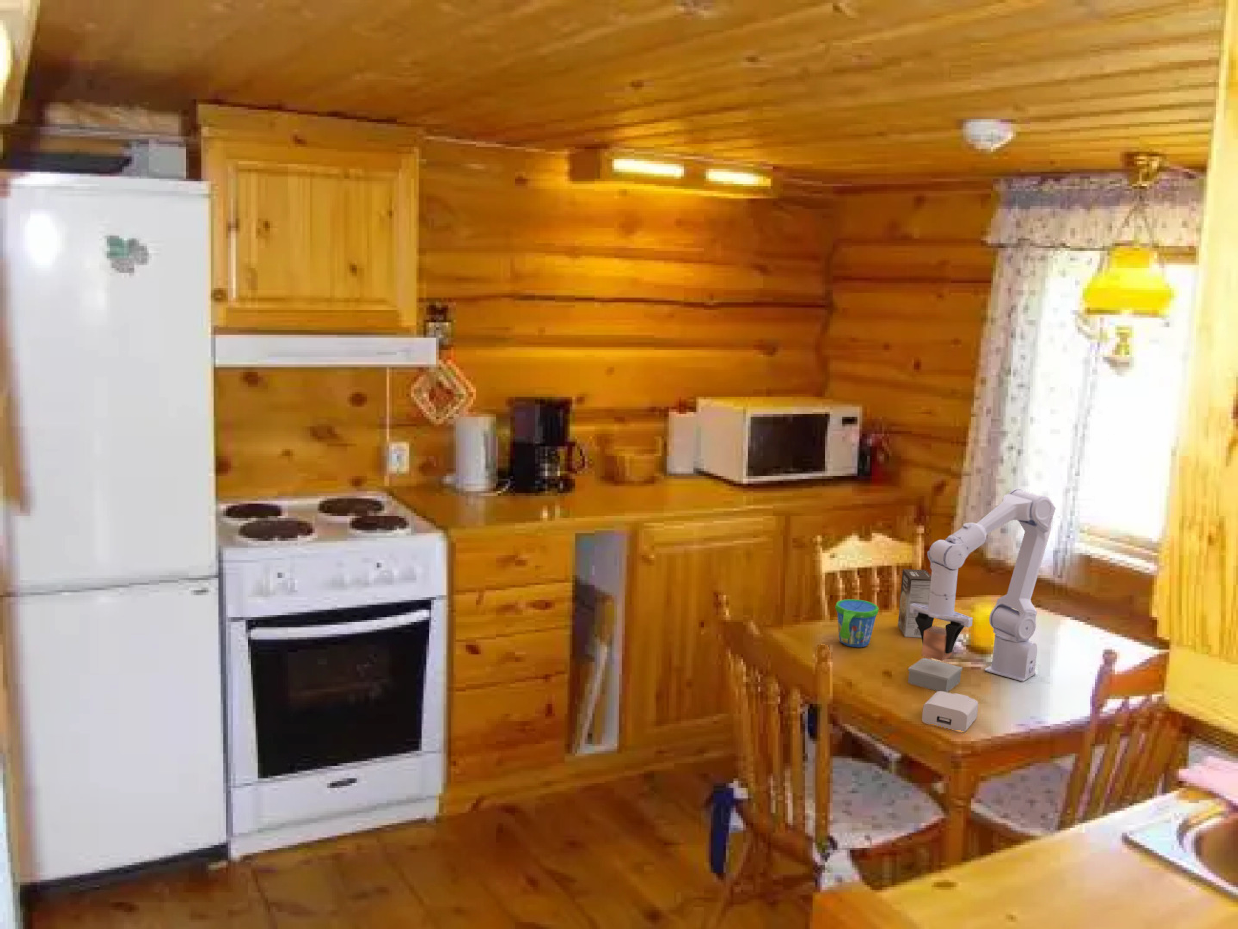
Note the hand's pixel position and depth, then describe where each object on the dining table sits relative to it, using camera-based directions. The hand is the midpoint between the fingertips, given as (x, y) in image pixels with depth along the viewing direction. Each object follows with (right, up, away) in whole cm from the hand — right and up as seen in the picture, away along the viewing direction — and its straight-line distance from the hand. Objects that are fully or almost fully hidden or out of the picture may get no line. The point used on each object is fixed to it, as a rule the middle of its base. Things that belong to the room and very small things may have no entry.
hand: (937, 649), depth 257 cm
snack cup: (-14, -3, +27) cm, 30 cm away
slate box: (0, -8, +2) cm, 8 cm away
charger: (-2, -12, -18) cm, 21 cm away
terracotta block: (0, -2, 0) cm, 2 cm away
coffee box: (+4, -2, +37) cm, 38 cm away
